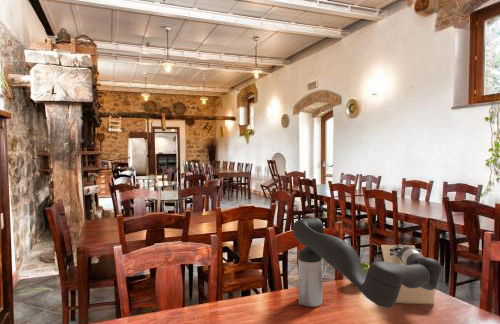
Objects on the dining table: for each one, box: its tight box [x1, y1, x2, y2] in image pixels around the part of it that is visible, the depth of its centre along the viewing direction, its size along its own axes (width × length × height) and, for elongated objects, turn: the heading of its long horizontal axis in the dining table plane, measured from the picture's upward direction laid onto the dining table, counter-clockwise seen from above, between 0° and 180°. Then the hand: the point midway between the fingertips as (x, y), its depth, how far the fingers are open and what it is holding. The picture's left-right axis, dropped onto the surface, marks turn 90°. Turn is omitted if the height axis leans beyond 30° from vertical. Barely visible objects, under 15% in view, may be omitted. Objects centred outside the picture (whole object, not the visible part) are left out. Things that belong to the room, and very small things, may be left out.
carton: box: [395, 285, 436, 306], centre depth 140 cm, size 17×12×10 cm
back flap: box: [380, 244, 416, 265], centre depth 149 cm, size 14×1×10 cm
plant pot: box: [350, 261, 370, 286], centre depth 154 cm, size 9×9×9 cm
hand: (399, 246), depth 151 cm, fingers closed
